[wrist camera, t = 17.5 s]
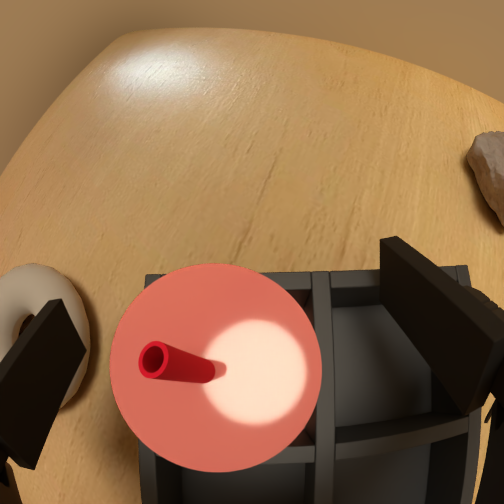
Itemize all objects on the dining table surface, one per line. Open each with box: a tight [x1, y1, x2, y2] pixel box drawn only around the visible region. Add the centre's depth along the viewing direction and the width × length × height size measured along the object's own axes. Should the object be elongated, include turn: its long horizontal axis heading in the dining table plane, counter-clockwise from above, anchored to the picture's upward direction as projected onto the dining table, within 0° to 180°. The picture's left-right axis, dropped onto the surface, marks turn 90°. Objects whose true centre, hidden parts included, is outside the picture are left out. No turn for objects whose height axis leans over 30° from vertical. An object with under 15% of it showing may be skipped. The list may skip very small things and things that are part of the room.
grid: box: [138, 265, 481, 504], centre depth 12 cm, size 15×15×5 cm
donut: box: [0, 263, 90, 408], centre depth 16 cm, size 10×4×10 cm
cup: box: [110, 263, 322, 472], centre depth 10 cm, size 5×5×12 cm
